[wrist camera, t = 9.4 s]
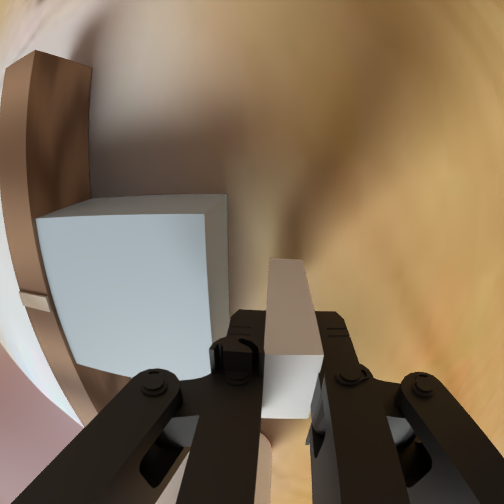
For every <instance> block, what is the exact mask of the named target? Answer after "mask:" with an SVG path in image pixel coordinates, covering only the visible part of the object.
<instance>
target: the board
mask: <svg viewBox="0 0 504 504" xmlns="http://www.w3.org/2000/svg"><path fill="white" fill-rule="evenodd" d="M91 75H92V68H90V67H88V66H85V65H82V64H79V63H76V62H73V61H70V60H67V59H64V58H61V57H58V56H54V55H51V54H48V53H44V52H41V51H37V50H34V51H33V52H31V53H29V54H28V55H26V56H24V57H23V58H21V59H20V60H18V61H16V62H15V63H13V64H12V65H10V66H9V67H7V68H6V70H5V76H4V82H3V89H2V97H1V107H0V191H1V201H2V210H3V217H4V223H5V229H6V235H7V240H8V245H9V250H10V255H11V259H12V263H13V267H14V271H15V275H16V279H17V282H18V286H19V289H20V291H19V294H20V298H21V301H22V304H23V306H25V308H26V311H27V313H28V316H29V319H30V322H31V324H32V327H33V330H34V332H35V335H36V337H37V339H38V342H39V344H40V346H41V349H42V351H43V353H44V355H45V358H46V360H47V362H48V364H49V366H50V368H51V370H52V372H53V374H54V376H55V378H56V380H57V382H58V384H59V385H60V387H61V389H62V391H63V393H64V395H65V396H66V398H67V400H68V401H69V403H70V405H71V407H72V408H73V410H74V411H75V413H76V415H77V416H78V418H79V419H80V421H81V422H82V424H83V425H84V427H86V426H87V425H88V424H89V423H90V422H91V420H92V419H93V418H94V417H95V416H96V415H97V414H98V413H99V412H100V411H101V410H102V409H103V408H104V407H105V406H106V405H107V404H108V403H109V402H110V401H111V400H112V399H113V398H114V397H115V396H116V395H117V394H118V393H119V392H120V390H121V389H122V388H123V387H124V386H125V385H126V384H127V383H128V382H129V381H130V380H131V379H130V377H127V376H122V375H118V374H114V373H110V372H106V371H102V370H98V369H95V368H91V367H87V366H84V365H80V364H77V363H76V361H75V359H74V356H73V354H72V352H71V349H70V347H69V344H68V341H67V339H66V336H65V334H64V331H63V328H62V325H61V322H60V319H59V316H58V313H57V310H56V307H55V304H54V301H53V297H52V294H51V290H50V287H49V283H48V279H47V275H46V271H45V267H44V263H43V258H42V253H41V249H40V243H39V238H38V232H37V226H36V218H38V217H41V216H43V215H46V214H49V213H51V212H54V211H57V210H60V209H62V208H65V207H68V206H71V205H74V204H77V203H80V202H83V201H86V200H89V199H91V193H90V179H89V156H88V121H89V99H90V85H91Z"/></svg>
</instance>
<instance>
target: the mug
mask: <svg viewBox="0 0 504 504" xmlns="http://www.w3.org/2000/svg"><path fill="white" fill-rule="evenodd" d="M189 452H190V451H189ZM189 452H188V454H187V456H186V457H185V459H184V460H183V462H182V464H181V465H180V467H179V468H178V470H177V471H176V473H175V474H174V476H173V478H172V479H171V481H170V482H169V484H168V485H167V487H166V488H165V490H164V491H163V493H162V494H161V496H160V497H159V499H158V500H157V502H156V503H155V504H176V500H177V496H178V492H179V489H180V485H181V481H182V478H183V474H184V470H185V467H186V463H187V459H188V455H189ZM271 477H272V448H271V444H270V442H269V441H268V439H267V438H266V437H265V436H264V435H263V434H262V433H260V440H259V453H258V465H257V477H256V489H255V500H254V504H270V498H271Z"/></svg>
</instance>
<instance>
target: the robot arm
mask: <svg viewBox="0 0 504 504" xmlns="http://www.w3.org/2000/svg"><path fill="white" fill-rule="evenodd" d="M209 358H210V368H211V373H210V374H209V375H206V376H204V377H201V378H197V379H190V380H180V381H179V379H178V378H177V377H176V375H175V374H174V373H172V372H170V371H168V370H165V369H160V368H155V369H147V370H145V371H142V372H140V373H138V374H137V375H136V376H134V377H133V378H132V379H131V380H130V381H129V382H128V383H127V384H126V385H125V386H124V387H123V388H122V389H121V390H120V392H119V393H118V394H117V395H116V396H115V397H114V398H113V399H112V400H111V401H110V402H109V403H108V404H107V405H106V406H105V407H104V408H103V409H102V410H101V411H100V412H99V413H98V414H97V415H96V416H95V417H94V418H93V419H92V420H91V422H90V423H89V424H88V425H87V426H86V427H85V428H84V429H83V430H82V431H81V432H80V433H79V434H78V435H77V436H76V437H75V438H74V439H73V440H72V441H71V442H70V444H68V445H67V446H66V447H65V448H64V449H63V450H62V451H61V452H60V454H59V455H58V456H57V457H56V458H55V459H54V460H53V461H52V462H51V463H50V464H49V465H48V466H47V467H46V468H45V469H44V470H43V471H42V472H41V473H40V474H39V475H38V476H37V477H36V478H35V479H34V480H33V481H32V483H30V485H28V486H27V488H26V489H25V490H24V491H23V492H22V493H21V494H20V495H19V496H18V497H17V498H16V499H15V500H14V501H13V502H12V503H11V504H155V503H156V502H157V500H158V499H159V497H160V496H161V494H162V493H163V491H164V490H165V488H166V487H167V485H168V484H169V482H170V481H171V479H172V478H173V476H174V474H175V473H176V471H177V470H178V468H179V467H180V465H181V464H182V462H183V460H184V459H185V457H186V456H187V454H188V452H189V451H190V452H189V455H188V459H187V463H186V467H185V470H184V474H183V478H182V481H181V485H180V489H179V492H178V496H177V500H176V504H254V500H255V489H256V477H257V465H258V453H259V440H260V426H261V418H278V419H309V415H310V411H311V417H312V423H311V426H310V429H309V433H308V436H307V439H306V444H305V445H309V443H310V455H311V474H312V499H313V504H504V458H503V457H502V455H501V454H500V453H499V451H498V450H497V449H496V447H495V446H494V445H493V444H492V442H491V441H490V440H489V439H488V437H487V436H486V435H485V434H484V432H483V431H482V430H481V429H480V427H479V426H478V425H477V424H476V423H475V421H474V420H473V419H472V418H471V417H470V415H469V414H468V413H467V412H466V411H465V409H464V408H463V407H462V406H461V405H460V404H459V402H458V401H457V400H456V399H455V398H454V397H453V395H452V394H451V393H450V392H449V391H448V390H447V389H446V387H445V386H444V385H443V384H442V383H441V382H440V381H439V380H438V379H437V378H436V377H434V376H433V375H430V374H428V373H424V372H414V373H410V374H408V375H407V376H405V377H404V379H403V381H402V382H401V384H399V383H392V382H385V381H381V380H377V379H375V378H373V375H372V374H371V372H370V371H369V369H367V368H366V367H365V366H363V365H362V364H359V361H358V358H357V355H356V353H355V350H354V347H353V344H352V341H351V338H350V337H349V333H348V330H347V327H346V324H345V321H344V319H343V318H342V317H341V316H340V315H339V314H338V313H337V312H329V311H314V306H313V302H312V297H311V293H310V289H309V285H308V280H307V276H306V272H305V268H304V264H303V260H302V259H276V258H269V274H268V291H267V307H266V311H260V310H241V309H239V310H238V311H237V312H236V313H235V314H234V315H233V316H232V317H231V320H230V324H229V328H228V332H227V335H226V337H223V338H220V339H218V340H217V341H215V342H214V343H212V345H211V346H210V348H209Z"/></svg>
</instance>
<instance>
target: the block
mask: <svg viewBox="0 0 504 504" xmlns="http://www.w3.org/2000/svg"><path fill="white" fill-rule="evenodd" d="M36 226H37V232H38V238H39V243H40V249H41V253H42V258H43V263H44V267H45V271H46V275H47V279H48V283H49V287H50V290H51V294H52V297H53V301H54V304H55V307H56V310H57V313H58V316H59V319H60V322H61V325H62V328H63V331H64V334H65V336H66V339H67V341H68V344H69V347H70V349H71V352H72V354H73V356H74V359H75V361H76V363H77V364H80V365H84V366H87V367H91V368H95V369H98V370H102V371H106V372H110V373H114V374H118V375H122V376H127V377H131V378H133V377H134V376H136V375H137V374H138V373H140V372H142V371H145V370H147V369H155V368H160V369H165V370H168V371H170V372H172V373H174V374H175V375H176V377H177V378H178V379H179V381H180V380H190V379H197V378H201V377H204V376H206V375H209V374H210V373H211V368H210V358H209V348H210V346H211V345H212V343H214V342H215V341H217V340H218V339H220V338H223V337H226V335H227V332H228V328H229V324H230V310H229V276H228V228H227V194H172V195H143V196H123V197H106V198H92V199H89V200H86V201H83V202H80V203H77V204H74V205H71V206H68V207H65V208H62V209H60V210H57V211H54V212H51V213H49V214H46V215H43V216H41V217H38V218H36Z"/></svg>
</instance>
